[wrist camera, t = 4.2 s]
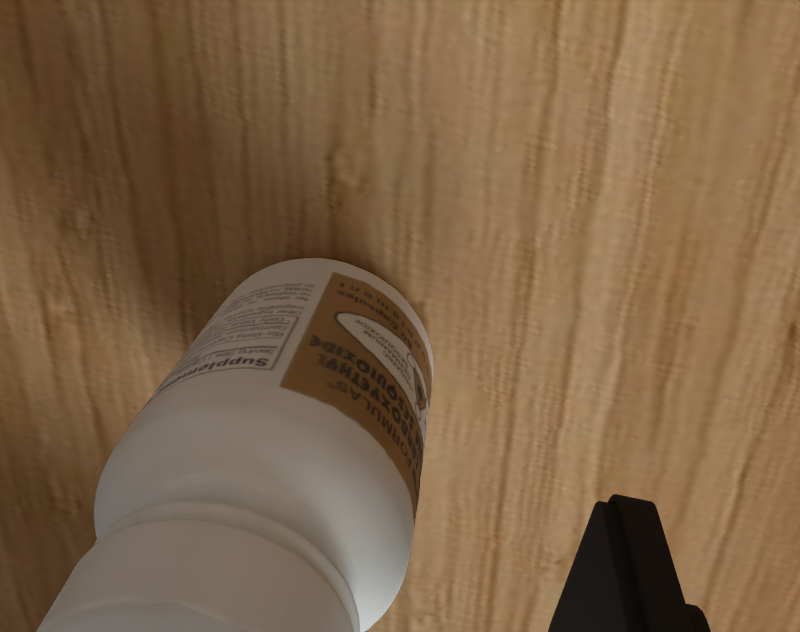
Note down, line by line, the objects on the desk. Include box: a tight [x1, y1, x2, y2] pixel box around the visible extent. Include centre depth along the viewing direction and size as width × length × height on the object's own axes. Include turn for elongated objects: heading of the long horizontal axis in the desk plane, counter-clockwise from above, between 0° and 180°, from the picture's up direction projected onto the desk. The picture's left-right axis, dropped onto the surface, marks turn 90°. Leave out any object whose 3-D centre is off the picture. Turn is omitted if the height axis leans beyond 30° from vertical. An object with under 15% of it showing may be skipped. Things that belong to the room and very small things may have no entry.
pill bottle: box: [36, 258, 434, 632], centre depth 11 cm, size 4×4×8 cm
